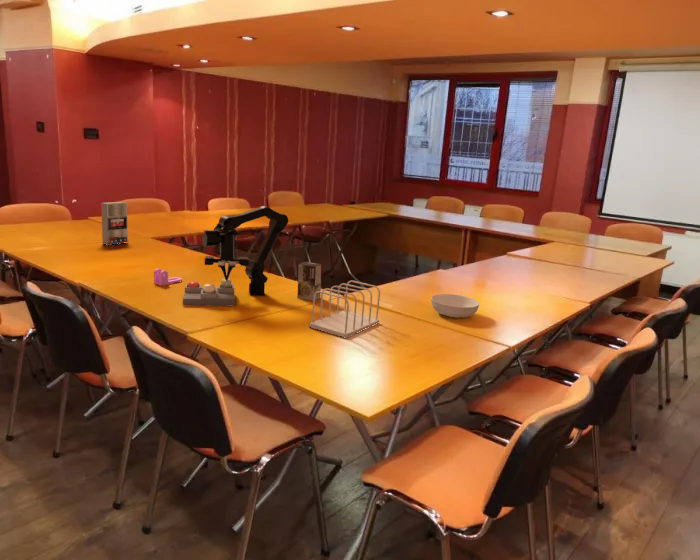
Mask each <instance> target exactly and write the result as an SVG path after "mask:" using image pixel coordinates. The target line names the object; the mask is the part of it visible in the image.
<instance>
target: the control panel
mask: <svg viewBox="0 0 700 560" xmlns="http://www.w3.org/2000/svg"><path fill="white" fill-rule="evenodd" d="M202 286H203V285H202V283H199V285H198V288H197V287H188V283H186V284H185V285H184V293H183V296H182V306H183V305H187V307H188V305H189V307H195V306H194V305H203V306H204V305H205V307H207V306H206V305H210V306H209V307H214V306H216V307H235V304H236V303H235V298H236V297H235V284H232V283H231V288H222V287H221V283H219V284H218V285H217V287H215V292H214V293H204V287H202ZM190 305H191V306H190ZM192 305H193V306H192ZM211 305H212V306H211ZM203 306H202V307H203Z"/></svg>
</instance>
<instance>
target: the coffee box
mask: <svg viewBox="0 0 700 560" xmlns="http://www.w3.org/2000/svg"><path fill="white" fill-rule="evenodd" d="M322 273H323V264H322V263H316V262H310V261H303V262H300V263H298V274H297V275H298V276H297V277H298V278H297V299H301V300H306V299H307V301H311V300H312V302H313V298H314V294H315V292H317V291H322ZM317 299H318V300H319V299H320V300H321V293H317V294H316V296H315V301H317Z"/></svg>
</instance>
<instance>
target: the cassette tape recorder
mask: <svg viewBox="0 0 700 560" xmlns="http://www.w3.org/2000/svg"><path fill="white" fill-rule="evenodd" d="M100 205H101V208H100V209H101V231H102V232H101V233H102V242H101V244H102V243H103V244H107V245H106V246H108V245H110V246H113V245H112V244H117V243H124V242H129V238H128V235H129V234H128V202H125V201H113V202H111V201H108V202H101V203H100ZM103 244H102V245H103Z"/></svg>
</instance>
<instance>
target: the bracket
mask: <svg viewBox="0 0 700 560" xmlns="http://www.w3.org/2000/svg"><path fill="white" fill-rule="evenodd" d="M180 281H183V278H182V277H179V276H174V277H173V276H172V277H169V272H168V271H167V270H162V269H161V268H155V269H154V271H153V284H154V283H155V284H154V285H157V284H159V285H158V286H160V285H164V286H167V285H166V284H169V285H171V284H170V283H174V284H176V283H175V282H179V283H181V282H180Z"/></svg>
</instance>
